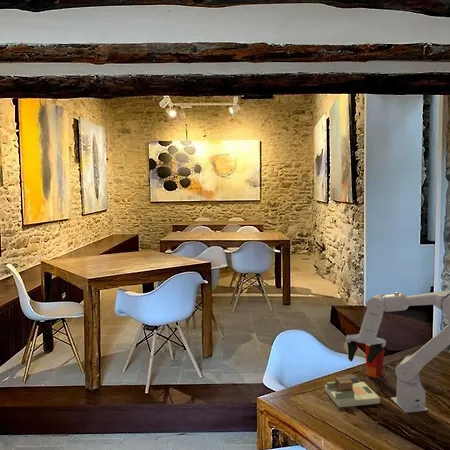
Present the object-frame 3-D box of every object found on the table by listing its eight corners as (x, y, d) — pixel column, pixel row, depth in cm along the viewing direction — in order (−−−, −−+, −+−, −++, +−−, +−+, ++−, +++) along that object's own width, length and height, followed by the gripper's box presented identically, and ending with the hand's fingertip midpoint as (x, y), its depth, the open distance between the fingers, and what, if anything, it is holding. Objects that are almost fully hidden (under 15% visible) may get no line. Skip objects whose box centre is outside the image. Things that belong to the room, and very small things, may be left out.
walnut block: (352, 394, 152) (352, 382, 151) (340, 395, 151) (340, 383, 150) (346, 388, 156) (347, 376, 155) (335, 389, 155) (335, 377, 155)
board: (380, 403, 149) (380, 392, 149) (338, 407, 147) (338, 396, 147) (363, 387, 161) (363, 376, 161) (324, 390, 159) (324, 380, 158)
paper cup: (381, 370, 175) (382, 336, 173) (386, 379, 167) (387, 344, 166) (361, 370, 176) (362, 336, 174) (365, 378, 168) (366, 343, 167)
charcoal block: (357, 386, 162) (357, 377, 162) (349, 388, 161) (349, 379, 160) (350, 382, 165) (350, 373, 165) (343, 384, 164) (343, 375, 163)
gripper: (383, 323, 160) (372, 356, 163) (346, 319, 157) (336, 352, 161) (392, 333, 153) (381, 367, 157) (354, 329, 151) (344, 363, 154)
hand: (359, 360), depth 158 cm, fingers open, 7 cm apart
